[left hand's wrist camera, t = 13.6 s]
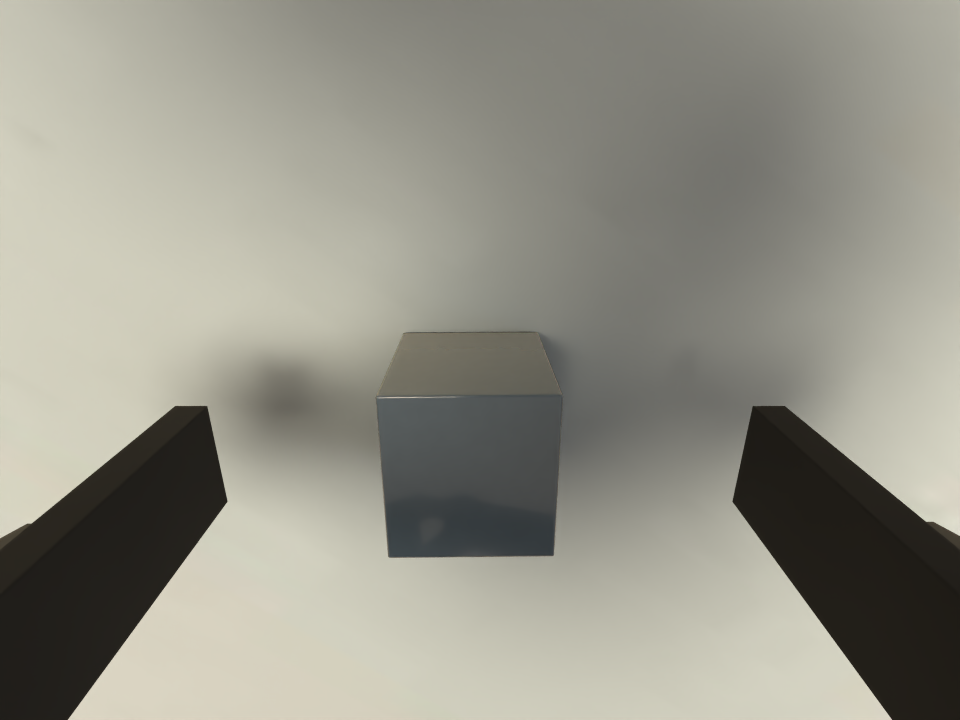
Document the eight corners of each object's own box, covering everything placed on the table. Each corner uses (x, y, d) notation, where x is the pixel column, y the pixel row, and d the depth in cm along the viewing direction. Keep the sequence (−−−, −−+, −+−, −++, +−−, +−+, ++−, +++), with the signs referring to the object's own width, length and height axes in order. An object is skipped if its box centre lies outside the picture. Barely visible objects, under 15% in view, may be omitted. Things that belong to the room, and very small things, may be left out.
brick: (403, 332, 16) (375, 395, 12) (538, 331, 17) (563, 394, 12) (410, 458, 18) (387, 558, 13) (533, 457, 18) (554, 556, 13)
